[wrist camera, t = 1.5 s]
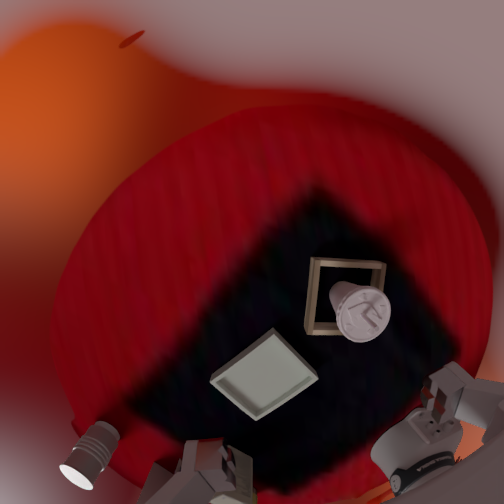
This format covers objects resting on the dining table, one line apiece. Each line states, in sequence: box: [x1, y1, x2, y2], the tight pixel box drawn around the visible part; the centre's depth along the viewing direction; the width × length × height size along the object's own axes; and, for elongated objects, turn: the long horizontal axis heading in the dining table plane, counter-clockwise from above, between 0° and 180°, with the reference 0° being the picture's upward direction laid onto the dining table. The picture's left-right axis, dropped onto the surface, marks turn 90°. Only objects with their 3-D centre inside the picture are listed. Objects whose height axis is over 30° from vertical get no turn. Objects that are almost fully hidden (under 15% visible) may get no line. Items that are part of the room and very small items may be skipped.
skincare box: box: [209, 445, 253, 504], centre depth 36 cm, size 6×4×12 cm
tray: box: [210, 328, 318, 421], centre depth 38 cm, size 12×10×2 cm
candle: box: [60, 421, 120, 490], centre depth 35 cm, size 7×7×15 cm
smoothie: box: [329, 281, 391, 342], centre depth 31 cm, size 6×6×14 cm
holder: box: [304, 257, 386, 335], centre depth 36 cm, size 10×10×3 cm
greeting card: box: [137, 458, 182, 504], centre depth 35 cm, size 11×7×15 cm, turn 10°
